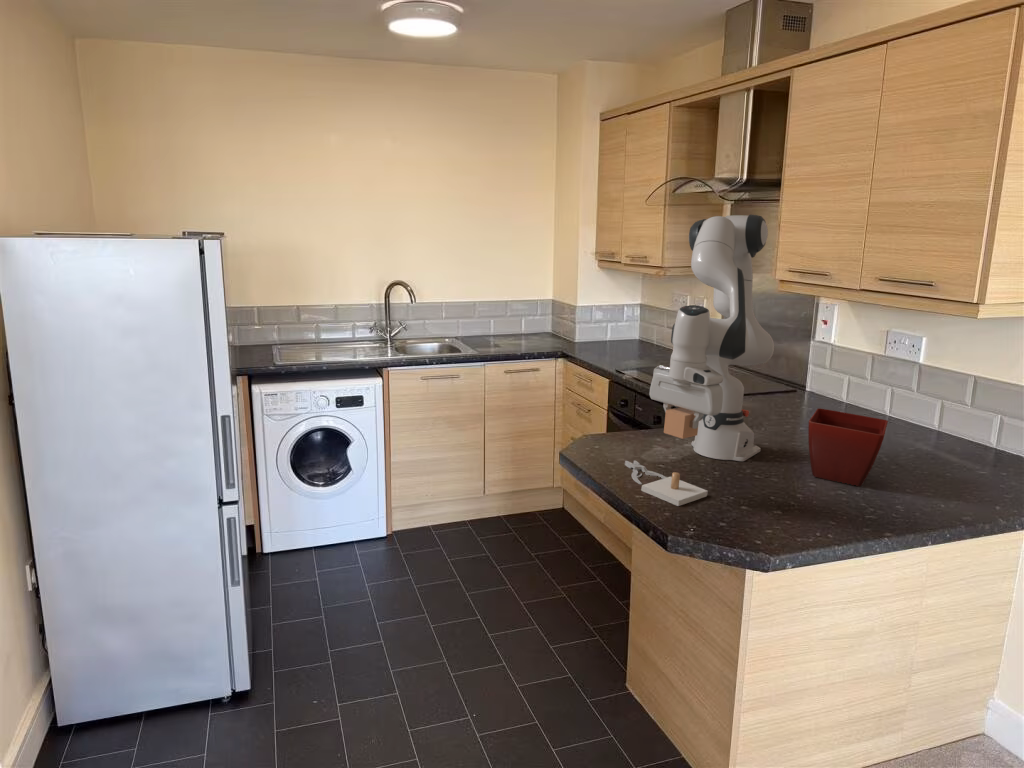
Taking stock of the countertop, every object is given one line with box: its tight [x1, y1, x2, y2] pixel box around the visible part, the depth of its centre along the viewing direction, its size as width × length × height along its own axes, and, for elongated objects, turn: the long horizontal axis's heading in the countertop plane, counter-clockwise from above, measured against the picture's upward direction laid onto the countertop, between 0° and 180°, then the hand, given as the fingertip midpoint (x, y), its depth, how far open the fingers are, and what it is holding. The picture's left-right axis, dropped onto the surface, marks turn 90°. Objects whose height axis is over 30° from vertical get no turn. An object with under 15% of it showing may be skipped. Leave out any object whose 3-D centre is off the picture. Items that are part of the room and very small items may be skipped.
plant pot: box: [807, 408, 889, 487], centre depth 202 cm, size 19×19×17 cm
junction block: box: [640, 471, 708, 507], centre depth 184 cm, size 12×12×6 cm
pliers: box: [624, 460, 667, 486], centre depth 198 cm, size 10×2×15 cm
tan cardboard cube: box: [663, 407, 699, 440], centre depth 180 cm, size 6×6×6 cm
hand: (681, 424), depth 180 cm, fingers closed on tan cardboard cube, 6 cm apart
